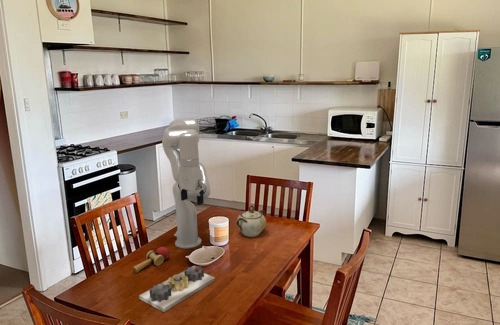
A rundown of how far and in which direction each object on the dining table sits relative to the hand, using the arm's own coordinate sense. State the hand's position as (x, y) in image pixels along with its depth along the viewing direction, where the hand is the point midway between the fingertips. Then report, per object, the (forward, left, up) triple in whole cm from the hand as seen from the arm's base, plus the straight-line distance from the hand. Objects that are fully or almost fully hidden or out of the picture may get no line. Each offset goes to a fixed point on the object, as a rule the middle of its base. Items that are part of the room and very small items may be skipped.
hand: (192, 201), depth 167 cm
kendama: (-15, -12, -29) cm, 35 cm away
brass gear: (+10, -19, -27) cm, 34 cm away
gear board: (+10, -19, -28) cm, 35 cm away
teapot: (0, +39, -28) cm, 48 cm away
